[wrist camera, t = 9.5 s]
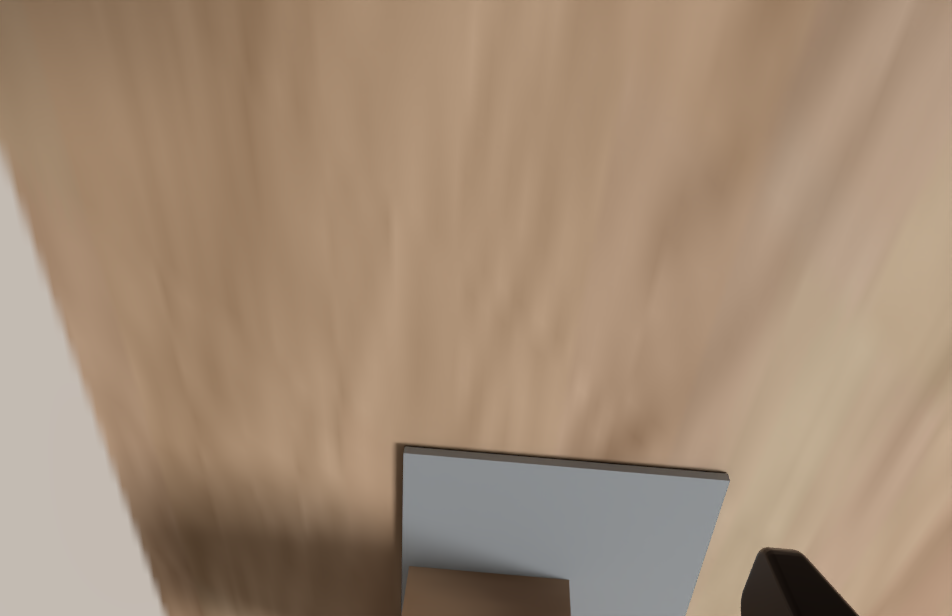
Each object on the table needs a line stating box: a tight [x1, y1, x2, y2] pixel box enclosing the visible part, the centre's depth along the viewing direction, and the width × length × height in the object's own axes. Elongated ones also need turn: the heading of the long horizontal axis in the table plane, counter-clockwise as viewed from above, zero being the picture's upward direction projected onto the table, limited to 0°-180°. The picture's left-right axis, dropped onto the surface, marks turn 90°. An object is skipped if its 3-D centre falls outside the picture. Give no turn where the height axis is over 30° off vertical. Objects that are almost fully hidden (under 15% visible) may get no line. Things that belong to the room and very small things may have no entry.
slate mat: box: [401, 446, 730, 616], centre depth 28 cm, size 10×12×1 cm
